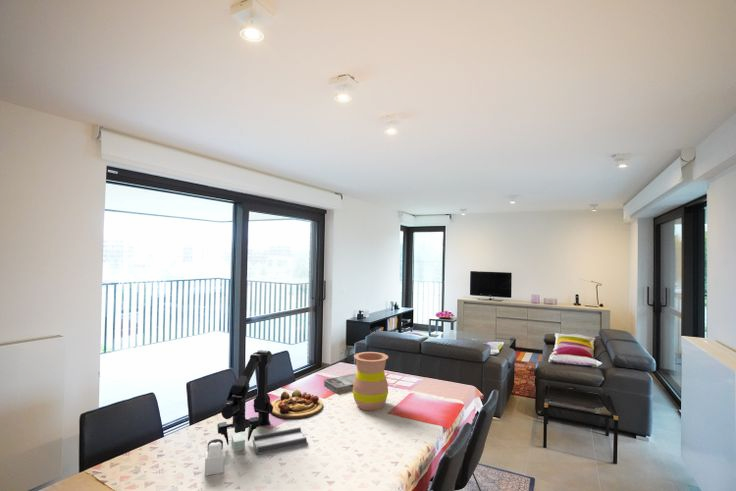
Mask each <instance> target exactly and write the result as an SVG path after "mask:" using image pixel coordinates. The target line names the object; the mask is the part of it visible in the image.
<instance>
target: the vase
mask: <svg viewBox="0 0 736 491" xmlns="http://www.w3.org/2000/svg"><path fill="white" fill-rule="evenodd" d="M353 358H354V359H355V365H356V370H357V371H356V373H355V374H356V377H355V380H354V382H353V390H352V394H353V399H354V402H355V404H356V405H357V407H358V408H359V409H360V410H364V411H369V412H370V411H377V410H378V411H379V410H380V409H382V408H383V407H384V405H385V403H386V402H387V399H388V395H389V382H388V380H387V377H386V373H385V367H386V364H387V360H388V359H389V355H387V354H386V353H382V352H376V351H363V352H358V353H355V354H353Z"/></svg>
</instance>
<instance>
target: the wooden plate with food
mask: <svg viewBox="0 0 736 491" xmlns="http://www.w3.org/2000/svg"><path fill="white" fill-rule="evenodd" d="M270 403H271V404H272V406H273V411H272V413H271V414H272V415H274V416H275V417H278V418H283V419H287V420H289V419H293V420H294V419H295V420H297V419H306V418H309V417H312V416H315V415H317V414H318V413H320V412H321V411H322V410H323V408H324V403H323V401H321V399H320V397H319V396H318V395H314V394H311V393H307V392H301V390H299V389H296V390H294V391H293V392H292V393H291V395H290V393H289V392H288V391H286V390H285V391H283V392H282V393H281V395H280V397H279V398H276V399H275V400H273V401H271V402H270Z"/></svg>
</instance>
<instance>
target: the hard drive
mask: <svg viewBox="0 0 736 491" xmlns="http://www.w3.org/2000/svg"><path fill="white" fill-rule="evenodd" d="M356 374H357V373H351V374H346V375H342V376H341V375H339V376H335V377H330V378H326V379H323V386H324V387H326V389H329V391H331V392H333V393H334V394H337V395H338V394H342V393H346V392H350V391H353V382H354V380H355V377H356Z"/></svg>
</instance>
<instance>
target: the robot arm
mask: <svg viewBox="0 0 736 491" xmlns="http://www.w3.org/2000/svg"><path fill="white" fill-rule="evenodd" d="M272 357H273V353H272V352H271V351H270V350H261V349H258V350H257V351H256V352H253V353H251V354H250V357H249V360H248V362H247V364H246V365H245V367H244V369H243V371H242V373H241V375H240V377H238V378H237V379H236V380H234V382H233V384H232V385H231V387H230V389H229V392H228V396H227V398H226V400H227V402H226V403H225V405H224V406H223V408H222V409H221V416H222V418H223V419H225V420H230V419H231V418H232V423H227V421H223V422H219V423H218V424H217V429H216V430H217V434H219V435H222V436H224V439H225V441H226V445H227V446H229V445H230V444H229V434H228V433H229V432H228V429H229V430H230V429H234V434H238V433H244V432H246V429H248V430H247V442H249V441H250V439H251V436H252V434H253V431H255V430H256V429H257V428H259V427H262V426H268V425H271V421H270V414H272V411H273V406H272V404H271V403H272V402H271V397H270V395H269V394H268V374H269V372H268V371H269V366H270V364H271V362H272V359H273V358H272ZM256 369H258V373H257V377H258V378H257V382H258V383H257V395H256V397H255V398H254V399H253V410H254V413H257V415H258V416H254V417H250V418H248V419H247V418H246V400H247V398H248V393H249V390H250V387H251V386H250V381H251V380H252V377H253V375H254V373H255V371H256Z"/></svg>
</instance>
